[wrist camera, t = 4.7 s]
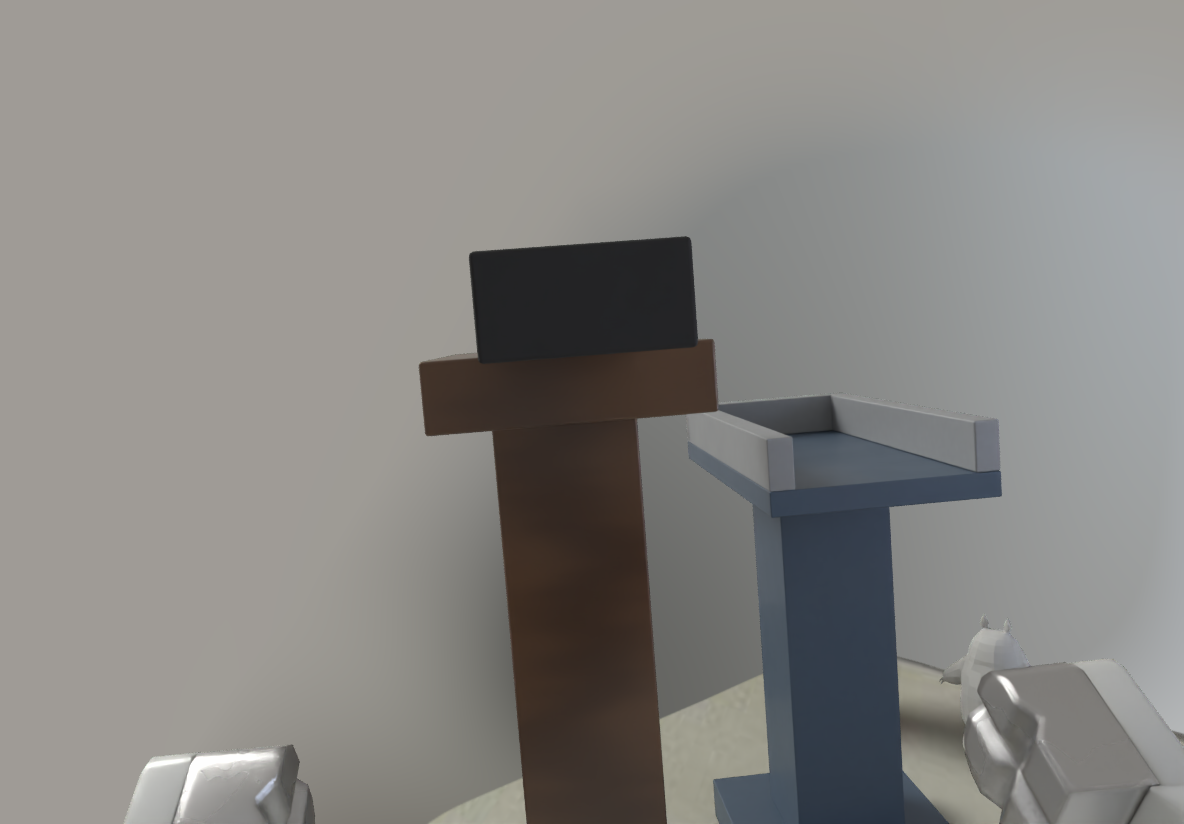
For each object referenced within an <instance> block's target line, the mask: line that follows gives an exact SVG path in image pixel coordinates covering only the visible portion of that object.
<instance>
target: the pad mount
mask: <svg viewBox="0 0 1184 824" xmlns="http://www.w3.org/2000/svg"><path fill="white" fill-rule="evenodd" d="M718 404H719V409H718V411H717V412H708V413H697V414H686V423H687V437H688V452H689V459H691V460H692V461H694V462H695V463H697V464H698V465H699V466H701V467H702V468H703V469H705V470H706V471H707V472H709V473H710V474H712V475H713V476H715V477H716V478H717V479H719V480H720V481H722V482H723V483H724V484H726V485H727V486H728V487H730V488H731V489H732V490H734V491H735V492H737V493H738V494H740V495H741V496H742V497H744V498H745V499H746V500H748V501H749V502H750V503H752V504H753V516H754V533H755V548H756V563H757V580H758V596H759V612H760V628H761V643H762V658H763V675H764V691H765V707H766V723H767V739H768V754H769V770H770V773H766V774H757V775H748V776H739V777H731V778H722V779H714V780H713V784H714V799H715V813H716V816H717V819H718V821H719V824H949V823H948V822H947V821H946V819H945V818H944V817H943V816H942V815H941V814H940V813H939V812H938V810H937V809H936V808H935V807H934V806H933V805H932V804H931V802H930V801H929V800H928V799H927V798H926V797H925V796H924V794H923V793H922V792H921V791H920V790H919V789H918V788H917V786H916V785H915V784H914V783H913V782H912V781H911V780H910V778H909V777H908V776H907V775H906V774H905V773H904V772H903V770H902V752H901V732H900V712H899V692H898V672H897V652H896V632H895V613H894V593H893V572H892V552H891V532H890V513H889V507H894V506H905V505H915V504H925V503H936V502H948V501H958V500H969V499H979V498H990V497H1000V496H1002V490H1001V472H1000V471H998V470H1000V448H999V424H998V423H999V422H998V419H995V418H988V417H983V416H977V415H971V414H965V413H959V412H953V411H947V410H941V409H935V408H929V407H923V406H917V405H911V404H905V403H899V402H893V401H887V400H882V399H875V398H870V397H863V396H858V395H852V394H846V393H830V394H819V395H807V396H795V397H783V398H771V399H759V400H748V401H736V402H724V403H718Z"/></svg>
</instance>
